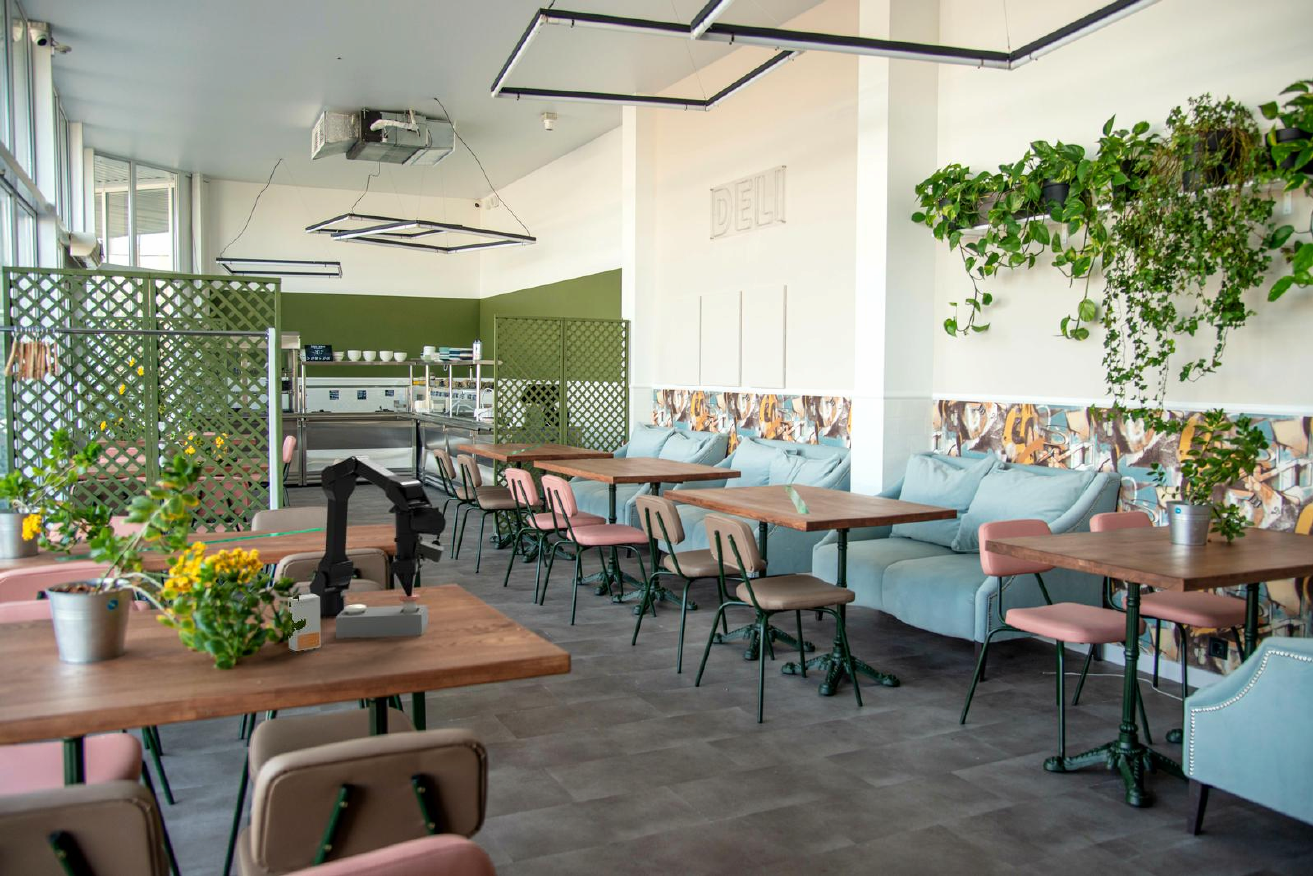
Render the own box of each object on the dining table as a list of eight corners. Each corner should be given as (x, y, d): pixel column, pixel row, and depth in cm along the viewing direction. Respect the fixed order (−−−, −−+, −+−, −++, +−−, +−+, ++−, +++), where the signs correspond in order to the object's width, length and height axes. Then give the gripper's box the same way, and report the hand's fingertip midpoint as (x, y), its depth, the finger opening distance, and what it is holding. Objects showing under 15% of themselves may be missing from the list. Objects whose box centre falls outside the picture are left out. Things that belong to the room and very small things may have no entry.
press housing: (336, 638, 226) (335, 617, 226) (345, 627, 236) (345, 607, 236) (421, 635, 228) (421, 614, 228) (427, 624, 238) (427, 605, 238)
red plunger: (397, 618, 230) (397, 598, 230) (401, 613, 235) (400, 593, 235) (418, 618, 230) (418, 597, 230) (422, 613, 235) (421, 593, 235)
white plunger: (342, 630, 229) (342, 609, 229) (347, 624, 234) (346, 604, 234) (364, 629, 229) (363, 608, 229) (368, 624, 234) (367, 604, 234)
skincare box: (295, 653, 214) (293, 600, 214) (288, 649, 218) (286, 597, 217) (322, 647, 218) (320, 596, 218) (314, 644, 222) (313, 593, 221)
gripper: (436, 537, 223) (437, 603, 224) (446, 525, 242) (447, 586, 242) (387, 538, 222) (389, 605, 223) (401, 526, 241) (402, 588, 241)
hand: (409, 595), depth 232 cm, fingers closed, pressing on red plunger
